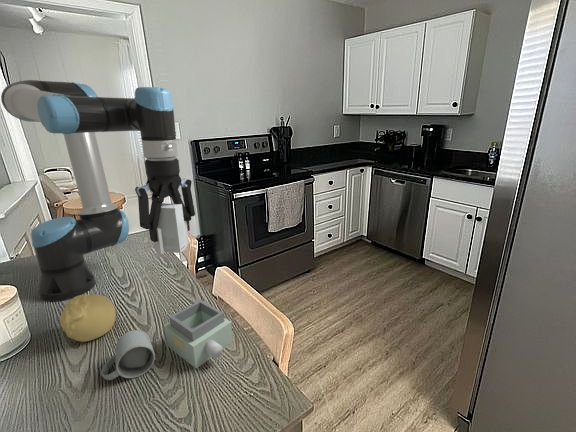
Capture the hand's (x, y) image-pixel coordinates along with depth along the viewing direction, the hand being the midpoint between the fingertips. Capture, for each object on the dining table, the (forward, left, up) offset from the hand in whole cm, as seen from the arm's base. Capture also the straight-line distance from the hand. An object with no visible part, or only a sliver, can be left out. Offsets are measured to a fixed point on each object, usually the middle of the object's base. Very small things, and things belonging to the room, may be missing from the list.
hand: (172, 247), depth 80 cm
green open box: (+14, -3, -22) cm, 26 cm away
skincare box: (0, 0, -1) cm, 1 cm away
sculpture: (-14, -18, -22) cm, 32 cm away
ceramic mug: (+6, -18, -22) cm, 29 cm away
